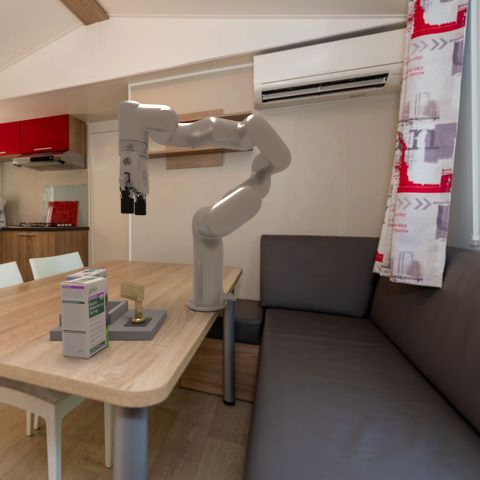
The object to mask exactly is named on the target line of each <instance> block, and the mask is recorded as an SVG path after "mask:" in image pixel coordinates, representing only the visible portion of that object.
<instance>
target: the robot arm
mask: <svg viewBox="0 0 480 480" xmlns="http://www.w3.org/2000/svg"><path fill="white" fill-rule="evenodd" d="M177 113H178V112H176V111H175V109H173V108H172V107H171V106H168V105H165V104H148V103H140V102H138V101H134V100H122V101H120V103H119V104H118V107H117V119H118V120H117V121H118V123H117V125H118V127H117V128H118V132H117V133H118V139H117V141H118V156H119V157H120V159H119V175H118V176H119V177H118V183H119V187H118V188H119V191H120V193H119V197H120V213H121V214H122V215H133V214H134V215H135V216H147V196H148V195H149V194H150V181H149V179H150V177H149V167H148V160H149V157H150V156H149V153H150V152H149V151H150V150H149V149H150V148H149V138H150V140H151V141H153V142H154V143H156V144H158V145H160V146H161V145H162V146H167V147H176V148H204V147H205V148H206V147H213V148H221V149H228V150H229V149H230V150H233V151H234V150H235V151H241V152H242V151H243V152H245V151H249V150H252V149H253V148H255V147H256V148H257V149H258V151H259V153H257V154H256V155H255V156H254V158H253V159H252V163H251V165H250V166H251V170H250V171H251V173H250V176H249V177H248V178H247V179H246V180H245V181H243V182H241V183H240V184H238V185H237V186H236V187H234V188H232V189H230V190H228V191H226V192H225V194H224V195H223V196H222V198H221V200H219V201H217V202H216V203H214V204H211V205H206V206H203V207H200V208H199V209H198V210H197V209H196V211H195V213H194V214H193V217H192V220H191V232H192V233H191V234H192V240H193V242H192V243H193V244H192V245H193V246H192V247H193V249H192V250H193V251H192V254H193V255H192V298H191V299H189V300H188V301H187V307H188V308H189V309H190V310H193V311H197V312H216V311H221V310H223V309H225V308H227V307H228V301H231V302H236V301H238V300H237V299H238V298H237V297H238V296H237V295H238V294H233V293H231V292H229V293H226V292H225V289H223V288H224V285H223V283H224V242H223V238H225V237H227V236H228V235H229V236H230V235H231V234H232V233H234V232H235V231H236V230H238V229H240V228H241V227H242V226H243V225H245V224H246V223H247V222H249V221H251V220H252V219H253V218H254V217H255V216H256V215H258V213H259V212H260V211H261V208H262V204H263V200H264V199H265V198H266V197H267V196H268V194H269V192H270V190H271V187H272V175H273V176H274V175H276V174H279V173H283V171H285V170H287V169H288V168H289V167H290V165H291V163H292V154H291V151H290V149H289V146H288V145H287V144H286V143H285V141H284V140H283V139H282V137H281V135H279V134H278V132H277V131H276V130H275V129H274V128H273V126H271V124H270V123H269V122H268V121H267V120H266V119H265V118H264V117H263V116H261V115H259V114H255V113H254V114H253V113H252V114H250V115H248V116H246V117H245V118H244V119H243V120H242V121H236V120H231V119H227V118H222V117H218V116H217V117H216V116H207V117H204V118H202V119H199V120H197V121H194V122H189V123H188V122H187V123H180V122H179V121H180V119H179V116H178V114H177Z"/></svg>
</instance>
